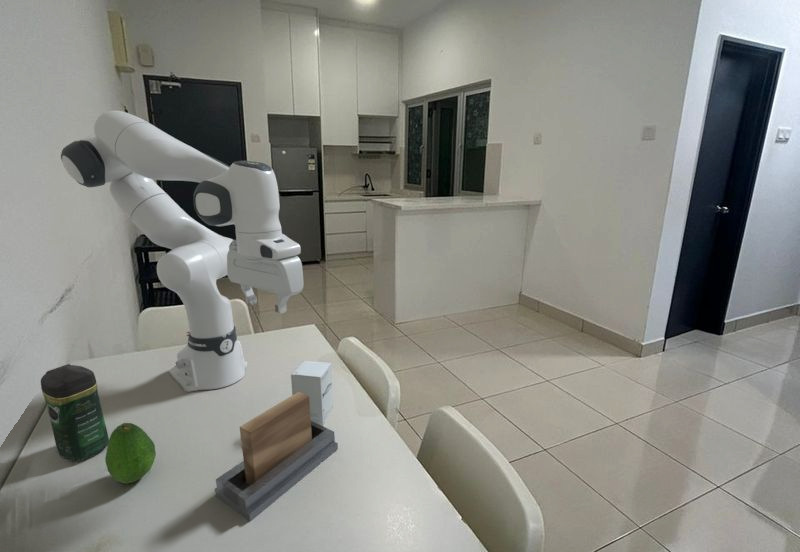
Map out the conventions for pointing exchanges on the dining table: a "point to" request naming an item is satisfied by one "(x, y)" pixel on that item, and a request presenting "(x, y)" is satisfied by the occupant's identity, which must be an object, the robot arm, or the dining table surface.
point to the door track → (274, 475)
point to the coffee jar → (75, 412)
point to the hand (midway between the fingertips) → (266, 307)
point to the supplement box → (315, 388)
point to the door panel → (275, 435)
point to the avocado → (129, 453)
